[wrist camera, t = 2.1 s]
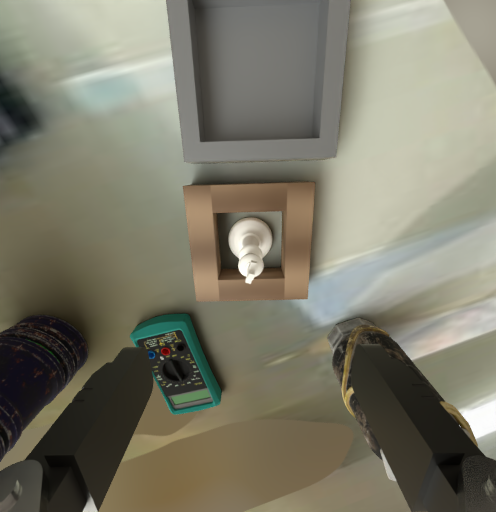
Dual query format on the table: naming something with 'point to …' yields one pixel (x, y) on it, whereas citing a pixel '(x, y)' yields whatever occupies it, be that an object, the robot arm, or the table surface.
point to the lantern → (343, 354)
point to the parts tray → (258, 78)
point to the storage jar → (34, 370)
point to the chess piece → (250, 245)
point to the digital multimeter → (178, 363)
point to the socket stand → (250, 200)
